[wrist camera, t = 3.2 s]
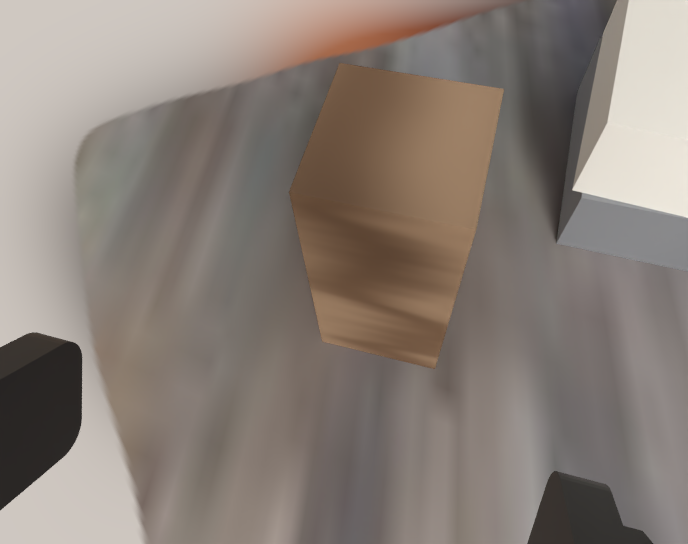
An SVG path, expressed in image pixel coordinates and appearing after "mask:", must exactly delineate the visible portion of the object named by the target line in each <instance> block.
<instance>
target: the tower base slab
mask: <svg viewBox="0 0 688 544" xmlns="http://www.w3.org/2000/svg"><path fill="white" fill-rule="evenodd" d="M601 42H602V37H600V39H599V42H598V44H597V47H596V49H595V51H594V54H593V56H592V58H591V61H590V63H589V66H588V68H587V70H586V73H585V75H584V77H583V80H582V82H581V84H580V87H579V89H578V92H577V96H576V104H575V111H574V118H573V126H572V133H571V140H570V147H569V155H568V162H567V169H566V177H565V184H564V191H563V198H562V206H561V213H560V220H559V228H558V235H557V242H556V244H561V245H566V246H570V247H575V248H580V249H584V250H589V251H594V252H598V253H603V254H608V255H613V256H617V257H622V258H627V259H631V260H636V261H641V262H645V263H650V264H655V265H660V266H664V267H669V268H674V269H678V270H683V271H688V218H687V217H683V216H679V215H674V214H670V213H666V212H662V211H657V210H653V209H649V208H645V207H641V206H636V205H632V204H628V203H624V202H620V201H615V200H611V199H607V198H603V197H598V196H594V195H590V194H586V193H582V192H577V191H573V190H572V188H573V183H574V178H575V173H576V168H577V163H578V158H579V153H580V148H581V143H582V138H583V133H584V128H585V123H586V118H587V113H588V107H589V102H590V97H591V92H592V87H593V82H594V77H595V72H596V67H597V62H598V57H599V52H600V47H601Z"/></svg>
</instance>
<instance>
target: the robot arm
mask: <svg viewBox="0 0 688 544" xmlns="http://www.w3.org/2000/svg"><path fill="white" fill-rule="evenodd" d="M81 419H82V353H81V350H80V348H79V346H78V345H77V344H76V343H73V342H70V341H66V340H62V339H59V338H54V337H51V336H47V335H43V334H40V333H29V334H26V335H24V336H22V337H20V338H18V339H17V340H14V341H12V342H10V343H8V344H6V345H4V346H2V347H0V510H1V509H2V508H4V507H5V506H6V505H7V504H8V503H10V502H11V501H12V500H13V499H14V498H15V497H17V496H18V495H19V494H20V493H21V492H23V491H24V490H25V489H26V488H27V487H28V486H30V485H31V484H32V483H33V482H34V481H36V480H37V479H38V478H39V477H40V476H42V475H43V474H44V473H45V472H46V471H47V470H49V469H50V468H51V467H52V466H53V465H54V464H56V463H57V462H58V461H59V460H60V459H62V458H63V457H64V456H65V455H66V454H67V453H68V452H69V450H70V449H71V447H72V446H73V444H74V443H75V441H76V438H77V436H78V434H79V430H80V426H81ZM528 544H653V543H652V542H651V540H650V539H649V538H648V537H647V536H646V535H645V533H644V532H643V531H640V530H637V529H633V528H629V527H626V526H623V524H622V521H621V518H620V515H619V513H618V510H617V507H616V504H615V501H614V498H613V495H612V492H611V490H610V488H609V487H608V486H607V485H606V484H602V483H598V482H595V481H591V480H587V479H583V478H580V477H576V476H572V475H568V474H564V473H561V472H557V471H554V472H553V473H552V474H551V476H550V477H549V479H548V482H547V485H546V488H545V491H544V494H543V497H542V500H541V503H540V506H539V509H538V513H537V516H536V519H535V522H534V525H533V528H532V531H531V534H530V537H529V540H528Z"/></svg>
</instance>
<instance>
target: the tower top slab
mask: <svg viewBox="0 0 688 544" xmlns="http://www.w3.org/2000/svg"><path fill="white" fill-rule="evenodd" d="M572 190H573V191H577V192H582V193H586V194H590V195H594V196H598V197H603V198H607V199H611V200H615V201H620V202H624V203H628V204H632V205H636V206H641V207H645V208H649V209H653V210H657V211H662V212H666V213H670V214H674V215H679V216H683V217H687V218H688V0H617V2H616V4H615V7H614V9H613V11H612V14H611V16H610V18H609V21H608V23H607V25H606V28H605V30H604V32H603V37H602V42H601V47H600V52H599V57H598V62H597V67H596V72H595V77H594V82H593V87H592V92H591V97H590V102H589V107H588V113H587V118H586V123H585V128H584V133H583V138H582V143H581V148H580V153H579V158H578V163H577V168H576V173H575V178H574V183H573V188H572Z"/></svg>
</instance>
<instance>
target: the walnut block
mask: <svg viewBox="0 0 688 544" xmlns="http://www.w3.org/2000/svg"><path fill="white" fill-rule="evenodd" d="M503 92H504V89H500V88H494V87H488V86H481V85H475V84H469V83H463V82H456V81H450V80H444V79H437V78H431V77H425V76H418V75H412V74H406V73H400V72H393V71H387V70H381V69H374V68H368V67H362V66H355V65H349V64H343V63H339V66H338V68H337V71H336V73H335V76H334V79H333V81H332V84H331V86H330V89H329V91H328V94H327V96H326V99H325V101H324V104H323V107H322V109H321V112H320V114H319V117H318V119H317V122H316V124H315V127H314V130H313V132H312V135H311V137H310V140H309V142H308V145H307V147H306V150H305V152H304V155H303V158H302V160H301V163H300V165H299V168H298V170H297V173H296V175H295V178H294V181H293V183H292V186H291V188H290V191H289V194H290V199H291V203H292V208H293V212H294V217H295V221H296V226H297V230H298V235H299V239H300V244H301V248H302V253H303V257H304V262H305V266H306V271H307V275H308V280H309V284H310V289H311V293H312V298H313V302H314V307H315V311H316V316H317V320H318V324H319V329H320V333H321V338H322V341H323V342H327V343H331V344H335V345H339V346H343V347H347V348H351V349H355V350H359V351H363V352H367V353H372V354H376V355H380V356H384V357H388V358H392V359H396V360H400V361H404V362H408V363H412V364H416V365H420V366H424V367H429V368H433V369H435V367H436V363H437V360H438V357H439V353H440V350H441V346H442V343H443V340H444V336H445V333H446V330H447V326H448V323H449V320H450V316H451V313H452V309H453V306H454V303H455V299H456V296H457V293H458V289H459V286H460V283H461V279H462V276H463V272H464V269H465V266H466V262H467V259H468V256H469V252H470V249H471V246H472V242H473V239H474V235H475V232H476V228H477V223H478V218H479V213H480V208H481V203H482V198H483V193H484V188H485V183H486V178H487V173H488V168H489V163H490V158H491V153H492V148H493V142H494V137H495V132H496V127H497V122H498V117H499V112H500V107H501V102H502V97H503Z"/></svg>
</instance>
